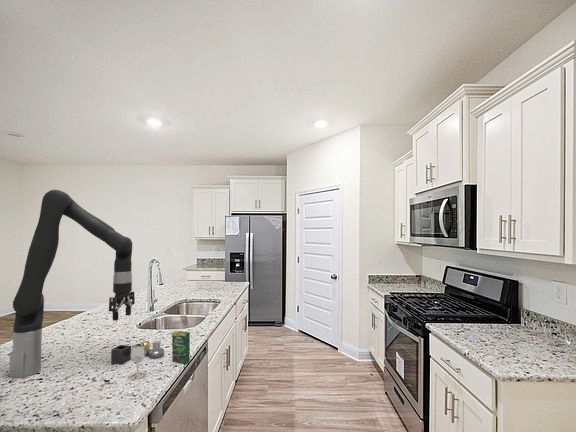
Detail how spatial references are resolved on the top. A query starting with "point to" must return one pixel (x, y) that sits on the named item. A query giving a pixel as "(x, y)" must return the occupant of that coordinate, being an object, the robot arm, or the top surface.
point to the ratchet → (155, 351)
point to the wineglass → (137, 357)
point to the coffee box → (181, 347)
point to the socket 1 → (120, 354)
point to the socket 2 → (146, 344)
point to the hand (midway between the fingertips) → (122, 317)
